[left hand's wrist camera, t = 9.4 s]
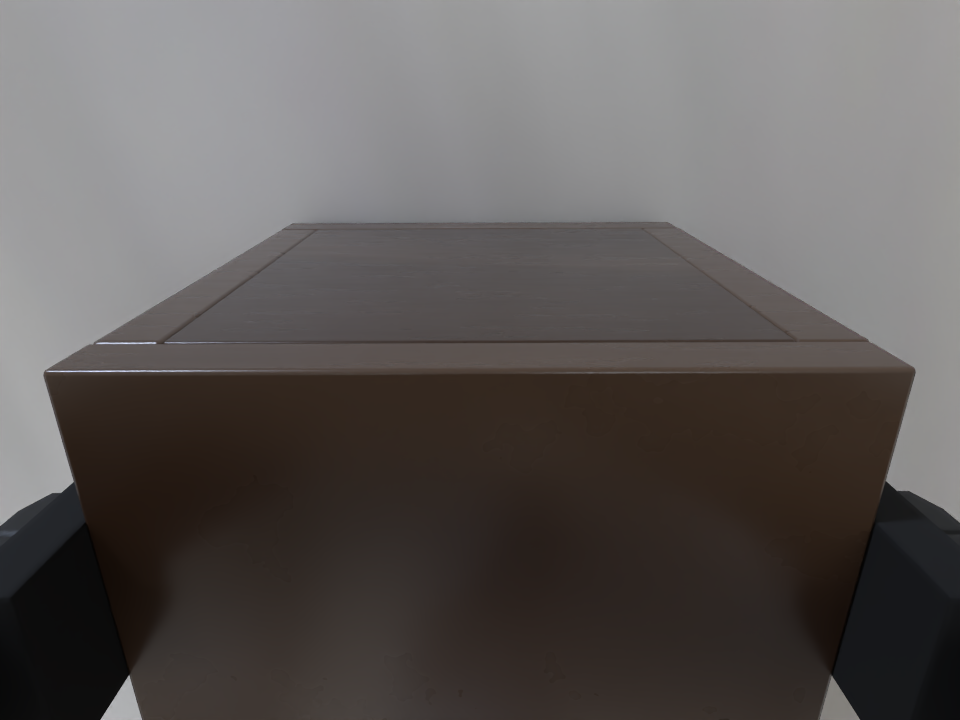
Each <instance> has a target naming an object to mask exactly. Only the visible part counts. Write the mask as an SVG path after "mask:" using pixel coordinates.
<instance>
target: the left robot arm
mask: <svg viewBox="0 0 960 720" xmlns="http://www.w3.org/2000/svg"><path fill="white" fill-rule="evenodd" d="M128 676H129V672H128V668H127V665H126V661H125V658H124V654H123V651H122V647H121V644H120V640H119V637H118V633H117V630H116V626H115V623H114V619H113V616H112V612H111V609H110V605H109V602H108V599H107V595H106V592H105V588H104V585H103V581H102V578H101V574H100V571H99V567H98V564H97V560H96V557H95V553H94V550H93V546H92V543H91V539H90V536H89V532H88V529H87V525H86V522H85V518H84V515H83V511H82V508H81V504H80V501H79V497H78V494H77V490H76V487H75V483H74V482H73V483H72V484H71V485H70V486H69V487H68V488H67V489H65V490H64V491H63V492H62V493H52V494H50V495H48V496H46V497H44V498H42V499H41V500H39V501H37V502H35V503H33V504H31V505H29V506H27V507H25V508H24V509H22V510H20V511H18V512H17V513H16V514H14V515H13V516H12V517H11V518H10V519H8V520H7V521H6V522H5V523H4V524H2V525H1V526H0V720H100V719H101V718H102V716H103V715H104V713H105V712H106V710H107V708H108V707H109V705H110V704H111V702H112V701H113V699H114V698H115V696H116V694H117V693H118V691H119V690H120V688H121V687H122V685H123V683H124V682H125V680H126V679H127V677H128ZM832 676H833V678H834V679H835V681H836V682H837V684H838V686H839V687H840V689H841V690H842V692H843V693H844V695H845V697H846V698H847V700H848V701H849V703H850V704H851V706H852V707H853V709H854V711H855V712H856V714H857V715H858V717H859V718H860V720H960V523H959V522H958V521H957V520H956V519H954V518H953V517H952V516H951V515H950V514H948V513H947V512H946V511H945V510H944V509H942V508H940V507H938V506H936V505H934V504H932V503H930V502H929V501H927V500H925V499H923V498H921V497H919V496H917V495H915V494H913V493H911V492H910V491H896V490H895V489H894V488H893V487H892V486H891V485H890V484H888V483H887V482H886V481H885V485H884V488H883V492H882V495H881V499H880V503H879V506H878V510H877V514H876V517H875V521H874V524H873V528H872V532H871V535H870V539H869V542H868V546H867V550H866V553H865V557H864V560H863V564H862V568H861V571H860V575H859V578H858V582H857V586H856V589H855V593H854V597H853V600H852V604H851V607H850V611H849V615H848V618H847V622H846V625H845V629H844V633H843V636H842V640H841V643H840V647H839V651H838V654H837V658H836V661H835V665H834V669H833V672H832Z"/></svg>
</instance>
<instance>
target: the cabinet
mask: <svg viewBox="0 0 960 720" xmlns="http://www.w3.org/2000/svg"><path fill="white" fill-rule="evenodd" d="M914 376H915V369H914V367H912V366H910V365H909V364H907V363H905V362H904V361H902V360H900V359H899V358H897V357H895V356H893V355H892V354H890V353H888V352H887V351H885V350H883V349H882V348H880V347H878V346H877V345H875V344H873V343H871V342H869V341H868V340H867V339H866V338H864V337H862V336H861V335H859V334H857V333H856V332H854V331H852V330H850V329H849V328H847V327H845V326H844V325H842V324H840V323H839V322H837V321H835V320H834V319H832V318H830V317H828V316H827V315H825V314H823V313H822V312H820V311H818V310H817V309H815V308H813V307H811V306H810V305H808V304H806V303H805V302H803V301H801V300H800V299H798V298H796V297H794V296H793V295H791V294H789V293H788V292H786V291H784V290H783V289H781V288H779V287H777V286H776V285H774V284H772V283H771V282H769V281H767V280H766V279H764V278H762V277H761V276H759V275H757V274H755V273H754V272H752V271H750V270H749V269H747V268H745V267H744V266H742V265H740V264H738V263H737V262H735V261H733V260H732V259H730V258H728V257H727V256H725V255H723V254H721V253H720V252H718V251H716V250H715V249H713V248H711V247H710V246H708V245H706V244H705V243H703V242H701V241H699V240H698V239H696V238H694V237H693V236H691V235H689V234H688V233H686V232H684V231H682V230H681V229H679V228H676V227H675V226H673V225H671V224H670V223H668V222H602V223H345V224H291V225H289V226H288V227H286V228H284V229H282V231H280V232H278V233H276V234H275V235H273V236H271V237H270V238H268V239H266V240H265V241H263V242H261V243H260V244H258V245H256V246H255V247H253V248H251V249H250V250H248V251H246V252H245V253H243V254H241V255H239V256H238V257H236V258H234V259H233V260H231V261H229V262H228V263H226V264H224V265H223V266H221V267H219V268H218V269H216V270H214V271H213V272H211V273H209V274H208V275H206V276H204V277H203V278H201V279H199V280H198V281H196V282H194V283H193V284H191V285H189V286H188V287H186V288H184V289H183V290H181V291H179V292H178V293H176V294H174V295H173V296H171V297H169V298H168V299H166V300H164V301H163V302H161V303H159V304H158V305H156V306H154V307H153V308H151V309H149V310H148V311H146V312H144V313H142V314H141V315H139V316H137V317H136V318H134V319H132V320H131V321H129V322H127V323H126V324H124V325H122V326H121V327H119V328H117V329H116V330H114V331H112V332H111V333H109V334H107V335H106V336H104V337H102V338H101V339H99V340H97V341H96V342H94V344H93V345H87V346H86V347H84V348H82V349H80V350H79V351H77V352H75V353H74V354H72V355H70V356H69V357H67V358H65V359H64V360H62V361H60V362H59V363H57V364H55V365H54V366H52V367H50V368H49V369H47V370H45V372H44V379H45V382H46V386H47V389H48V393H49V396H50V400H51V403H52V407H53V410H54V414H55V417H56V421H57V424H58V428H59V431H60V435H61V438H62V442H63V445H64V449H65V452H66V456H67V459H68V463H69V466H70V470H71V473H72V476H73V480H74V483H75V487H76V490H77V494H78V497H79V501H80V504H81V508H82V511H83V515H84V518H85V522H86V525H87V529H88V532H89V536H90V539H91V543H92V546H93V550H94V553H95V557H96V560H97V564H98V567H99V571H100V574H101V578H102V581H103V585H104V588H105V592H106V595H107V599H108V602H109V605H110V609H111V612H112V616H113V619H114V623H115V626H116V630H117V633H118V637H119V640H120V644H121V647H122V651H123V654H124V658H125V661H126V665H127V668H128V672H129V675H130V679H131V682H132V686H133V689H134V693H135V696H136V700H137V703H138V707H139V710H140V714H141V717H142V720H819V719H820V716H821V712H822V708H823V705H824V701H825V698H826V694H827V690H828V687H829V683H830V679H831V676H832V672H833V669H834V665H835V661H836V658H837V654H838V651H839V647H840V643H841V640H842V636H843V633H844V629H845V625H846V622H847V618H848V615H849V611H850V607H851V604H852V600H853V597H854V593H855V589H856V586H857V582H858V578H859V575H860V571H861V568H862V564H863V560H864V557H865V553H866V550H867V546H868V542H869V539H870V535H871V532H872V528H873V524H874V521H875V517H876V514H877V510H878V506H879V503H880V499H881V495H882V492H883V488H884V485H885V481H886V477H887V474H888V470H889V467H890V463H891V459H892V456H893V452H894V449H895V445H896V441H897V438H898V434H899V431H900V427H901V423H902V420H903V416H904V412H905V409H906V405H907V402H908V398H909V394H910V391H911V387H912V384H913V380H914Z"/></svg>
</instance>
